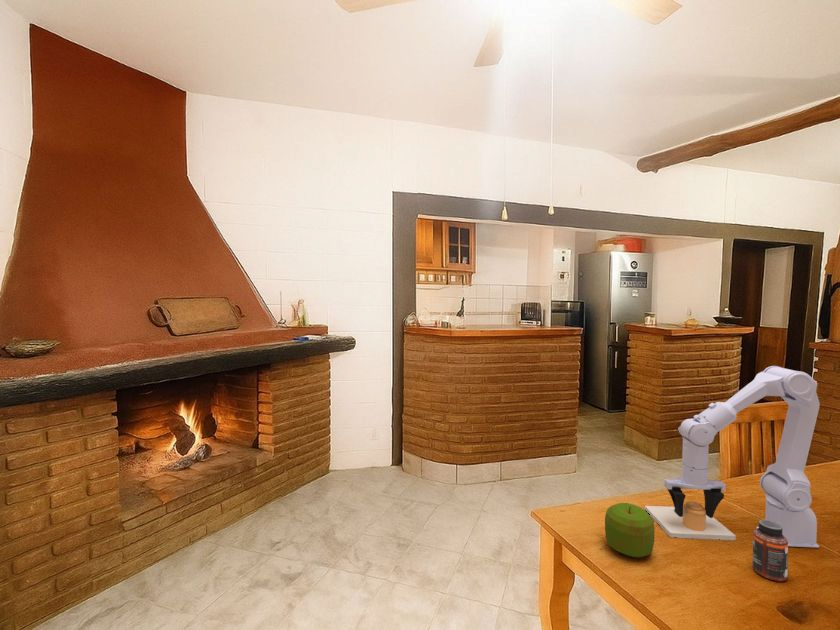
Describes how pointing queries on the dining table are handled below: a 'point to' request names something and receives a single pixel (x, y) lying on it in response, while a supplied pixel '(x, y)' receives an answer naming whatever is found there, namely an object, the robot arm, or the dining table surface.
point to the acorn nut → (694, 516)
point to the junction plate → (676, 529)
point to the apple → (629, 530)
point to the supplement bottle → (770, 551)
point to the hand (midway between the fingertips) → (693, 515)
